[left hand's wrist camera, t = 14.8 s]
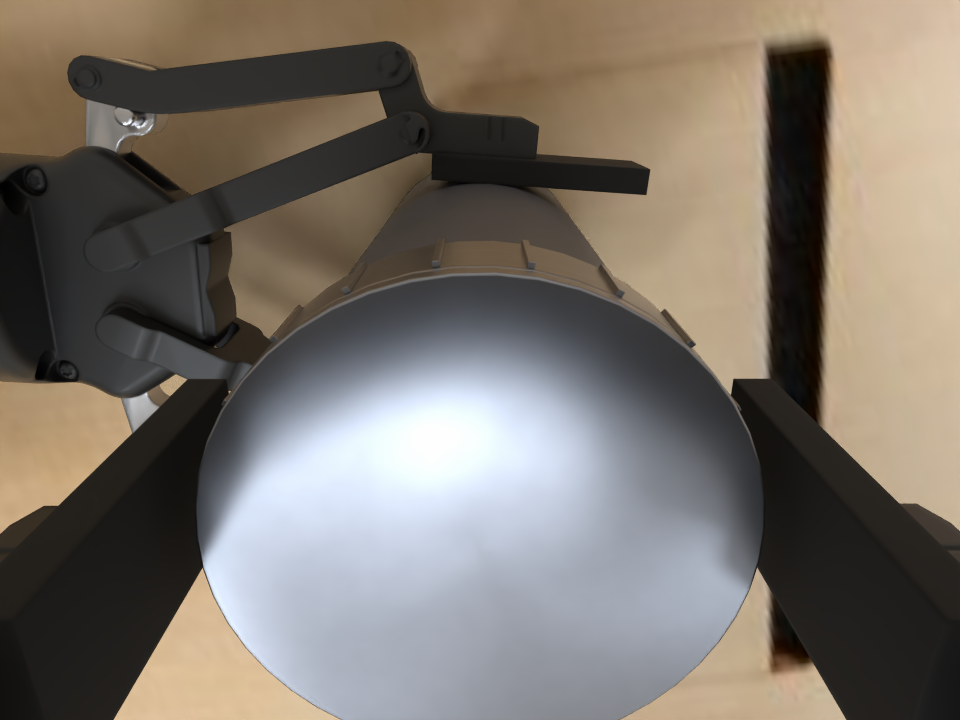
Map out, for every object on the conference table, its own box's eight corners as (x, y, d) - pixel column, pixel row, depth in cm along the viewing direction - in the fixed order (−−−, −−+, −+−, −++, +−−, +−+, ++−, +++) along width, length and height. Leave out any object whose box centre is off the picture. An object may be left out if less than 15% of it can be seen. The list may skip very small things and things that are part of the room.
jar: (356, 299, 29) (166, 614, 12) (434, 124, 27) (343, 185, 9) (519, 374, 31) (574, 762, 13) (609, 215, 28) (834, 426, 10)
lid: (613, 702, 14) (634, 798, 12) (199, 601, 13) (151, 688, 11) (811, 330, 11) (881, 380, 9) (291, 162, 10) (247, 179, 8)
